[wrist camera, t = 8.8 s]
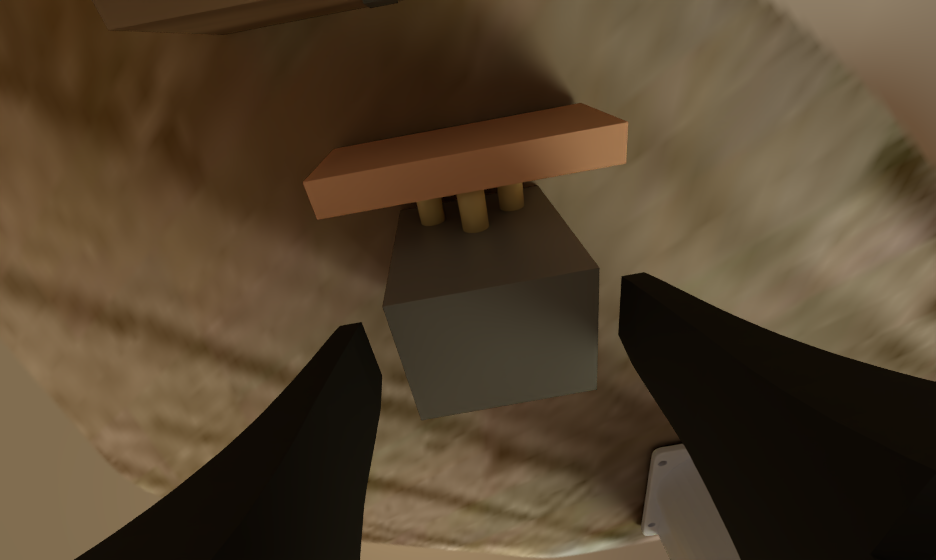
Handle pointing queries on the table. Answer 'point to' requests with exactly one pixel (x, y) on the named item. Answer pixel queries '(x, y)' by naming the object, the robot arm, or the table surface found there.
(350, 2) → the socket housing
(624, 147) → the orange flat block
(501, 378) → the plug
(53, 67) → the table surface
